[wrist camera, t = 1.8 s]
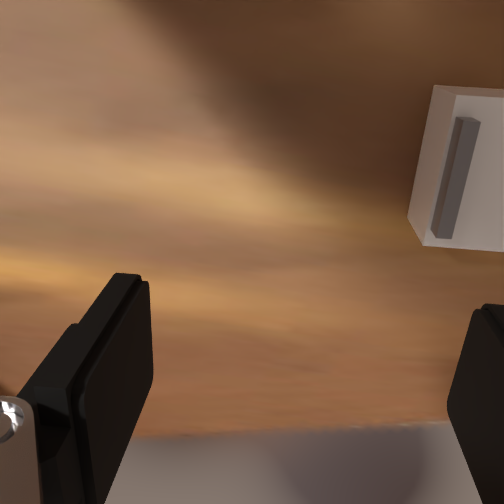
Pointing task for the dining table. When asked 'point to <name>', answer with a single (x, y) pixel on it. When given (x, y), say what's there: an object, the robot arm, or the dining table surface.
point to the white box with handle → (461, 171)
